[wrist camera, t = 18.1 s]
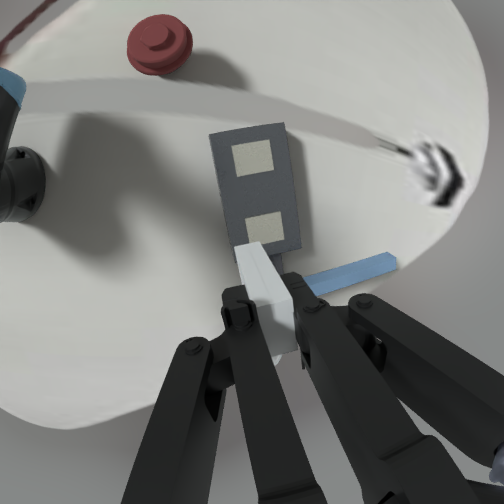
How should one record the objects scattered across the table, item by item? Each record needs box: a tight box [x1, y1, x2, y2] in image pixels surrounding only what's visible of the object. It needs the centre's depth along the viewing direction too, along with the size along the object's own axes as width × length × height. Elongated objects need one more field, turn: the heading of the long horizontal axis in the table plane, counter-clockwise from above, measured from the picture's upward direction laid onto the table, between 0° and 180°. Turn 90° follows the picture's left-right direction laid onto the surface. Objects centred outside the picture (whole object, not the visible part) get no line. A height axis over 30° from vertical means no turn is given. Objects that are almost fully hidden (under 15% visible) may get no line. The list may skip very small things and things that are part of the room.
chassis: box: [209, 122, 301, 263], centre depth 47 cm, size 12×22×5 cm, turn 10°
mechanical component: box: [127, 14, 193, 76], centre depth 33 cm, size 12×10×10 cm
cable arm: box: [303, 252, 396, 296], centre depth 47 cm, size 24×4×3 cm, turn 102°
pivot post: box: [268, 253, 284, 275], centre depth 52 cm, size 6×6×9 cm
